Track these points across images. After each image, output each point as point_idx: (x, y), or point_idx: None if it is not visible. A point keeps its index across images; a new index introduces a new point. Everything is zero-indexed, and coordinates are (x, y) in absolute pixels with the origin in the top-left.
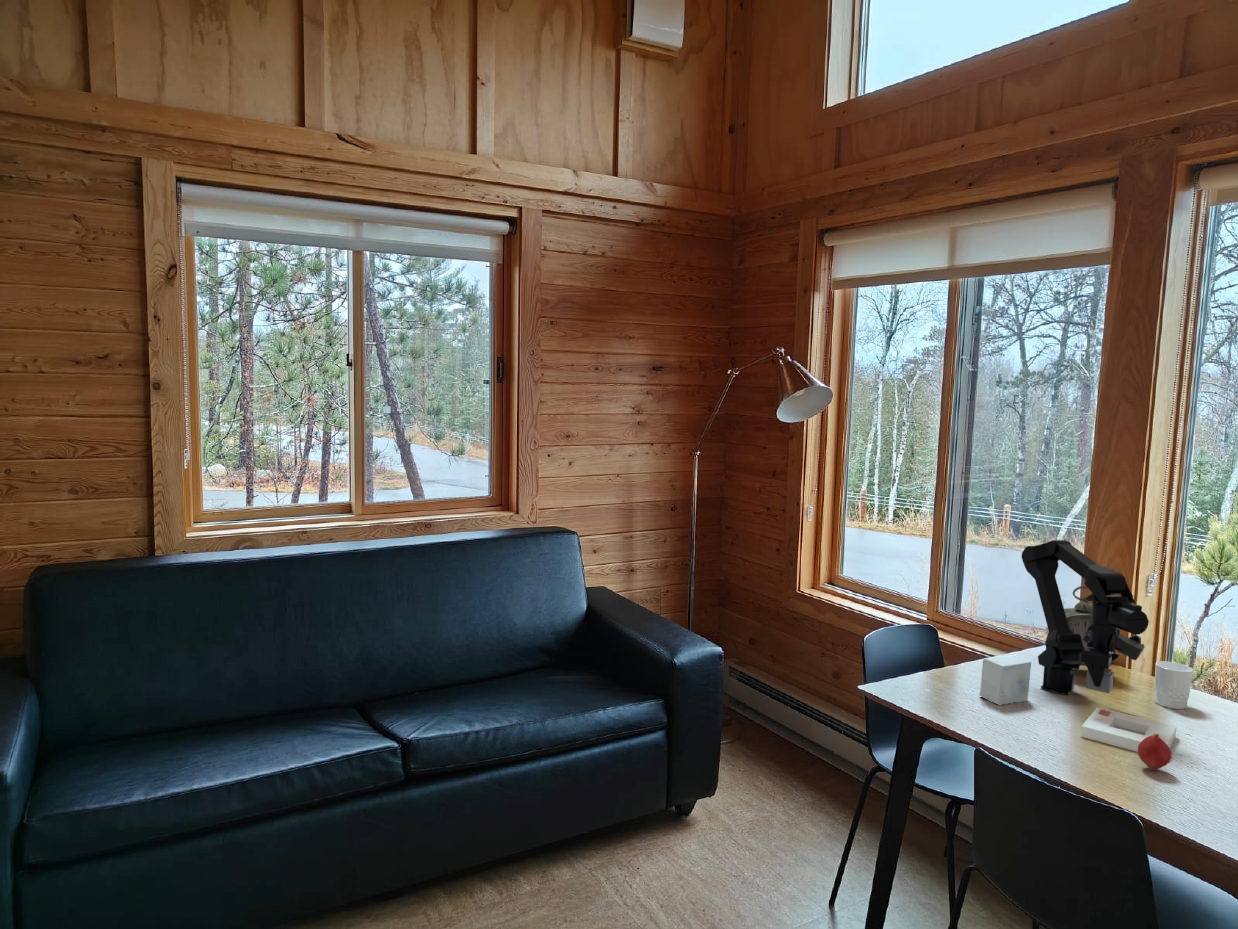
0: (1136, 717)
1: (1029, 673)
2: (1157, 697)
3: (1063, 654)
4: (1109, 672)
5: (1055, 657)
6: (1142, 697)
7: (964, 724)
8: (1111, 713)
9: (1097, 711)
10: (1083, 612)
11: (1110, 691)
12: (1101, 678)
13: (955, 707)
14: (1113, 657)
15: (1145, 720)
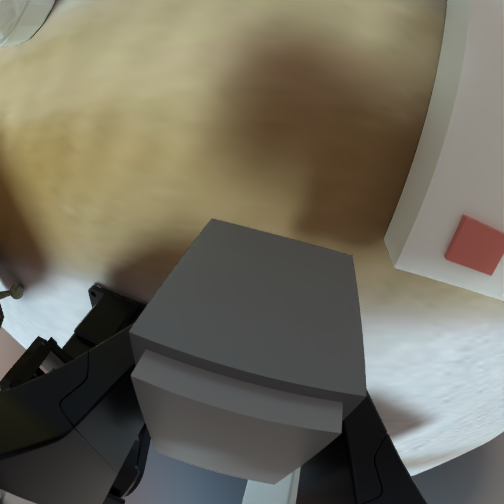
0: (472, 82)
1: (298, 482)
2: (21, 29)
3: (124, 478)
4: (322, 433)
5: (142, 470)
6: (15, 82)
7: (478, 438)
8: (467, 211)
9: (458, 273)
10: None
11: (289, 239)
12: (374, 409)
13: (406, 457)
14: (4, 479)
15: (491, 48)
